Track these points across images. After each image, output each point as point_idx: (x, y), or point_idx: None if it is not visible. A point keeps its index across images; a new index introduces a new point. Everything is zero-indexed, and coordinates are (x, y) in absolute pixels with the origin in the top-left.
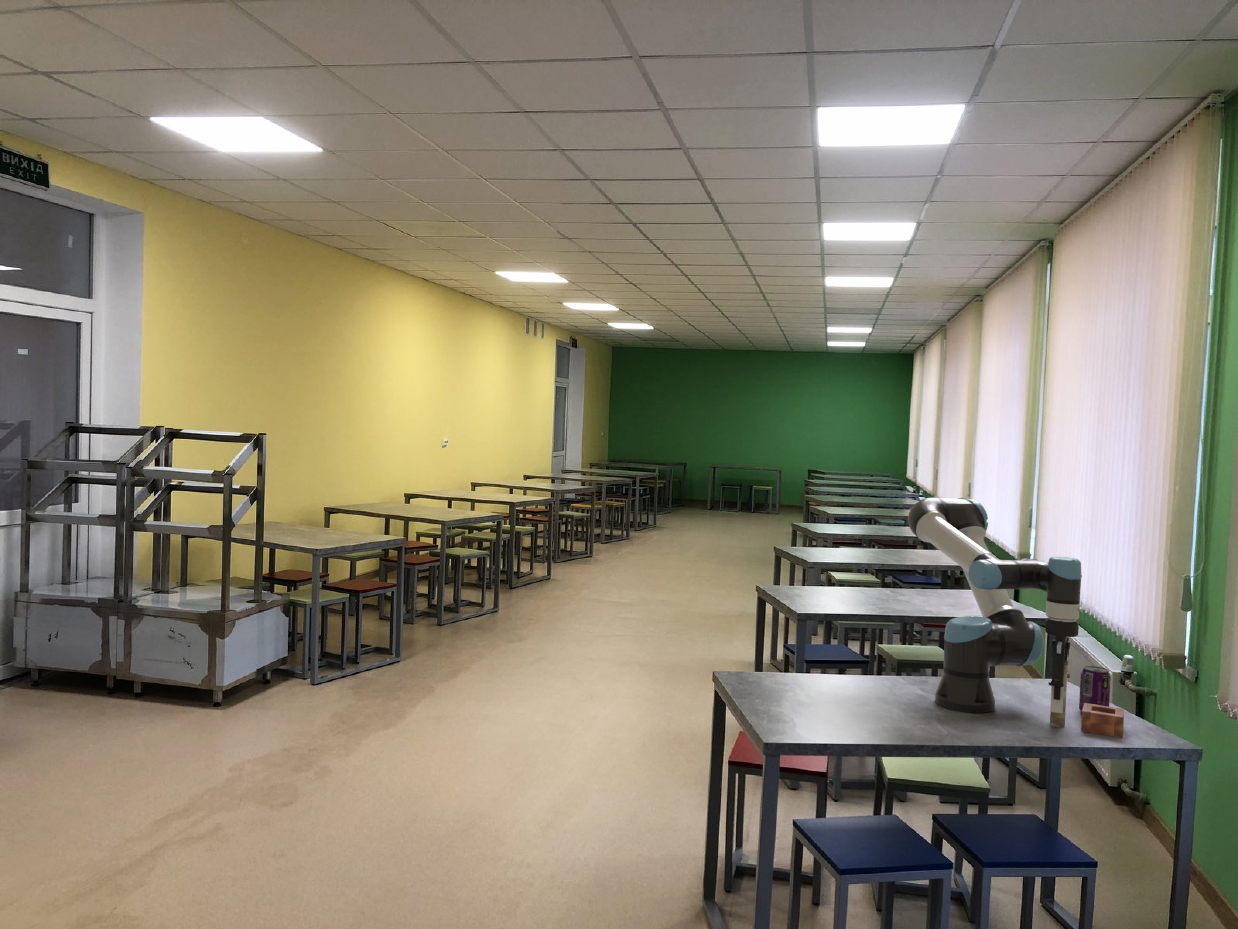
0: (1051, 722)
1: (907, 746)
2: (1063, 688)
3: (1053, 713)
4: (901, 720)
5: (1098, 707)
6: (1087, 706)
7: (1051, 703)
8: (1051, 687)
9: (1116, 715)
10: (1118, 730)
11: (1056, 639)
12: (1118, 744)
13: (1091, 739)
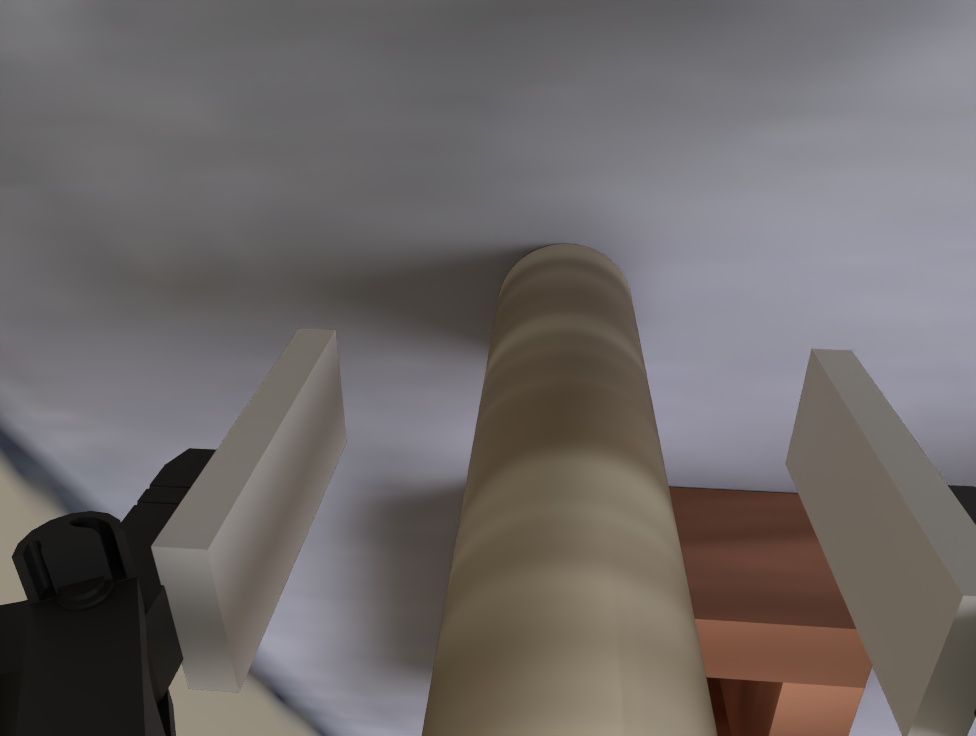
0: (520, 271)
1: None
2: (193, 673)
3: (501, 328)
4: None
5: (770, 715)
6: (720, 649)
7: (267, 387)
8: (169, 523)
9: None
10: None
11: None
12: (321, 660)
13: (313, 533)
